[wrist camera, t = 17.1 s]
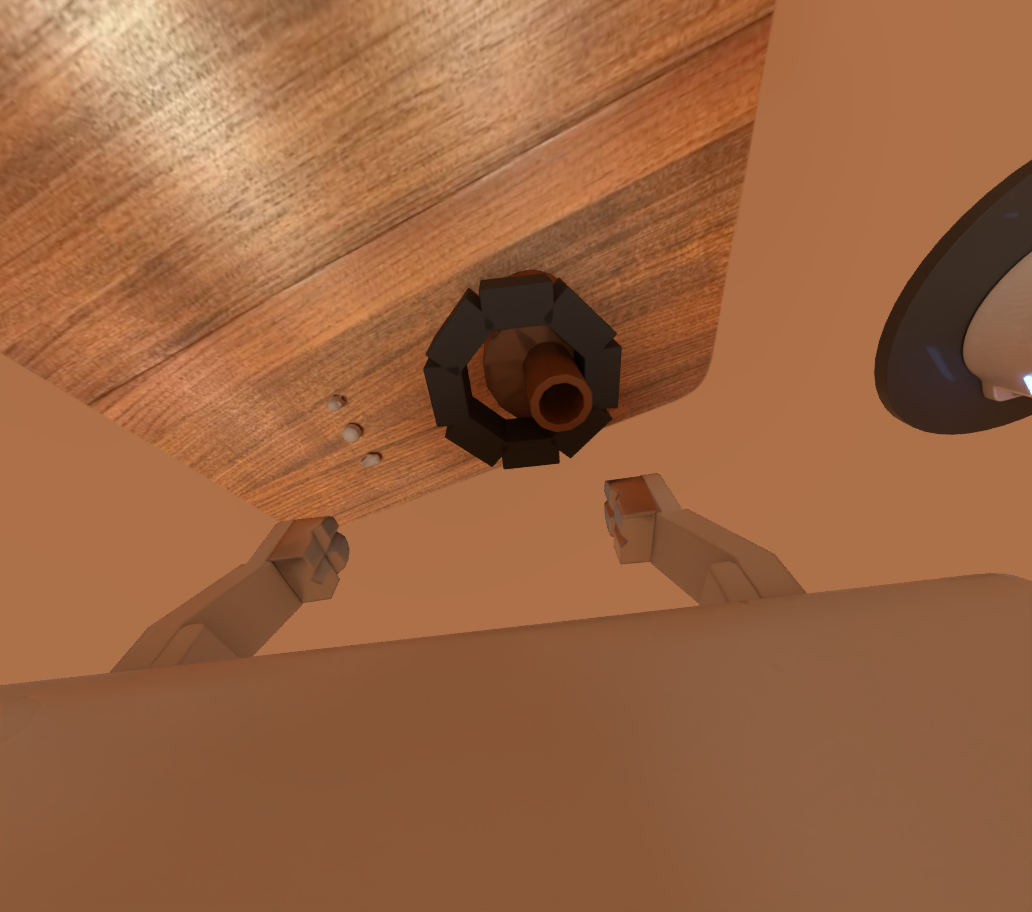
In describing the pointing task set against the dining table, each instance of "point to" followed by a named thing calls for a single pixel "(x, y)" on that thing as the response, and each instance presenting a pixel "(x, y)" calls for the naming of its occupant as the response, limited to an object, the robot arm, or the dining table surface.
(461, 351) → the black segmented bracelet
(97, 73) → the dining table surface
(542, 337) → the amber bottle
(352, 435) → the game pieces
